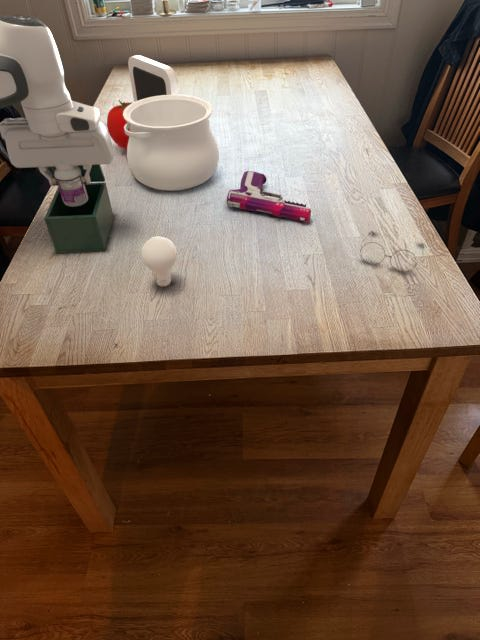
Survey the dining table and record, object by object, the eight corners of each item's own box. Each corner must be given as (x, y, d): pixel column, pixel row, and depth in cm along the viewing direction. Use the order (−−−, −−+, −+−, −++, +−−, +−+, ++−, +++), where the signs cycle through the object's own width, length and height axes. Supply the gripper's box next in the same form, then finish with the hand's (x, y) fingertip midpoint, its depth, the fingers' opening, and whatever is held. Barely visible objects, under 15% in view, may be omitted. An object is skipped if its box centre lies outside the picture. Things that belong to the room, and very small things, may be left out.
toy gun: (322, 196, 114) (306, 228, 105) (244, 181, 120) (222, 210, 110) (324, 183, 112) (307, 214, 102) (244, 168, 117) (221, 196, 108)
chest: (105, 251, 99) (95, 216, 93) (56, 253, 99) (43, 218, 92) (113, 215, 109) (105, 182, 103) (69, 217, 109) (58, 184, 103)
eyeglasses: (369, 233, 103) (373, 213, 99) (425, 246, 99) (432, 227, 95) (355, 260, 96) (359, 240, 92) (415, 276, 92) (422, 256, 88)
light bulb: (180, 273, 93) (174, 228, 86) (181, 294, 89) (175, 248, 81) (148, 276, 93) (139, 230, 85) (147, 297, 88) (138, 251, 80)
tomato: (154, 154, 133) (147, 107, 124) (112, 158, 131) (102, 111, 122) (152, 138, 141) (145, 93, 132) (112, 142, 139) (102, 97, 130)
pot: (169, 206, 112) (160, 139, 100) (111, 175, 124) (96, 112, 112) (239, 170, 125) (238, 107, 113) (180, 145, 137) (174, 86, 125)
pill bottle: (66, 195, 100) (52, 153, 93) (90, 194, 100) (78, 152, 93) (61, 208, 96) (47, 165, 89) (86, 207, 96) (74, 164, 90)
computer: (168, 71, 118) (176, 69, 119) (125, 54, 130) (133, 52, 131) (176, 152, 133) (184, 150, 135) (138, 131, 145) (145, 128, 147)
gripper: (-10, 125, 83) (17, 193, 93) (102, 121, 84) (117, 189, 93) (0, 112, 87) (25, 178, 97) (106, 108, 88) (120, 174, 98)
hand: (71, 183), depth 95 cm, fingers closed on pill bottle, 5 cm apart
